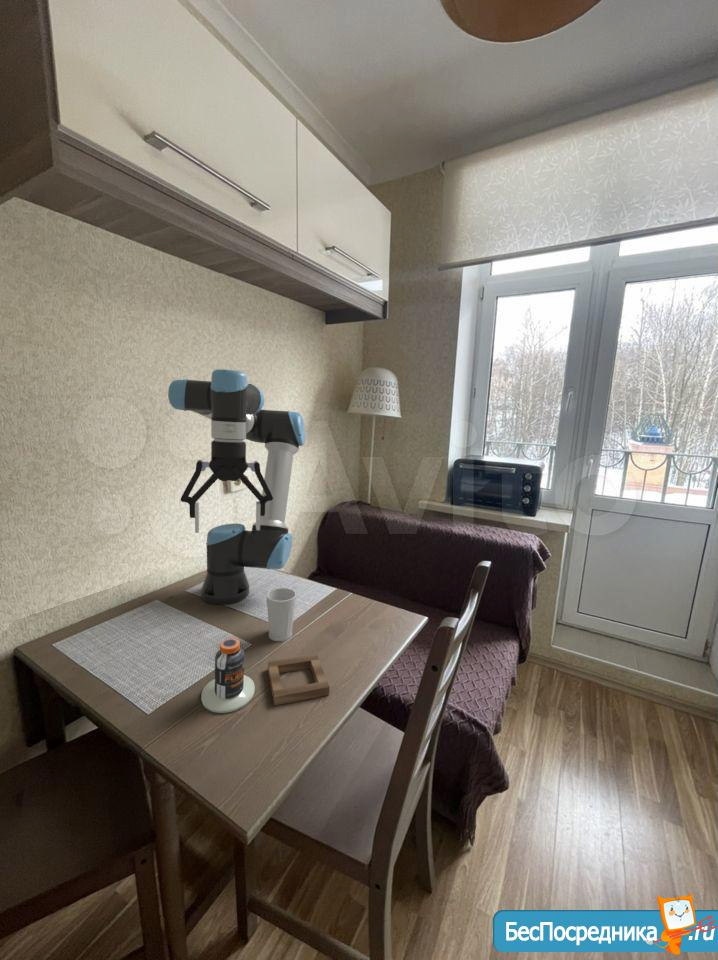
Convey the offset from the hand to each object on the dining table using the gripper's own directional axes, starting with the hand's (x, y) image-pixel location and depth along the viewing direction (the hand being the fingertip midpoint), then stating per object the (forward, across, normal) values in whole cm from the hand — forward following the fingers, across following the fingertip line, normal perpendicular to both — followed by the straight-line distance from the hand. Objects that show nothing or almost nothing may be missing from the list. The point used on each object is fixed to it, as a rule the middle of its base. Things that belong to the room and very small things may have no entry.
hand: (228, 530), depth 91 cm
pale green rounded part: (+33, 0, -14) cm, 36 cm away
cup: (+33, +14, +6) cm, 36 cm away
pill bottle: (+32, 0, -14) cm, 35 cm away
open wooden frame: (+33, +15, -14) cm, 39 cm away
